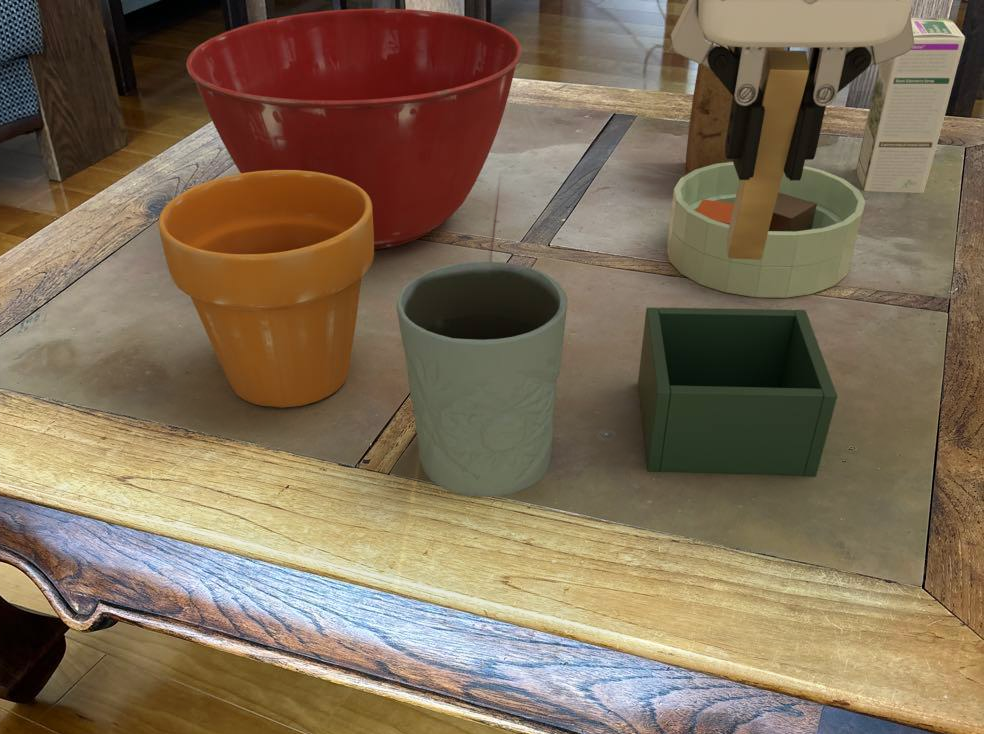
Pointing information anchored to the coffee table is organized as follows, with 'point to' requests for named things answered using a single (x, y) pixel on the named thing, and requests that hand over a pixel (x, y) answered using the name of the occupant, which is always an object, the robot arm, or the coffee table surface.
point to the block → (709, 119)
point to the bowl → (787, 255)
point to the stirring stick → (768, 153)
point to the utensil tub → (733, 392)
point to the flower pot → (274, 277)
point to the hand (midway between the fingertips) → (766, 168)
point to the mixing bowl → (364, 104)
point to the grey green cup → (483, 373)
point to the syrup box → (910, 109)
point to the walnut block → (792, 214)
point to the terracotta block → (716, 210)
